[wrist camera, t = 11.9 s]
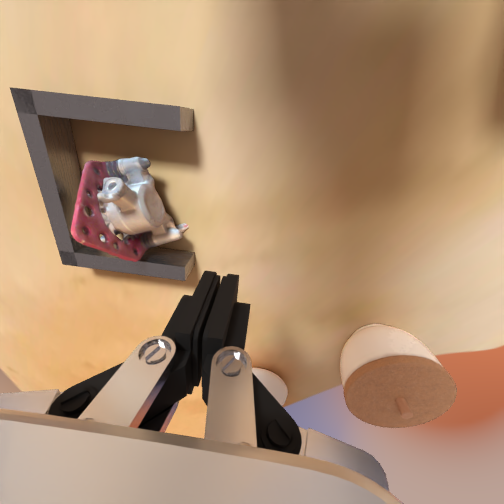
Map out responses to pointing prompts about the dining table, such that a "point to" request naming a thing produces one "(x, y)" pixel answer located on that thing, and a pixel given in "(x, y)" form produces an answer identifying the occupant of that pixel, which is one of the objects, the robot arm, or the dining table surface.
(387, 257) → the dining table surface
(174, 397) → the robot arm
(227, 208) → the dining table surface
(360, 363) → the lidded bowl
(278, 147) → the dining table surface
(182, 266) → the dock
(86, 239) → the brake caliper
